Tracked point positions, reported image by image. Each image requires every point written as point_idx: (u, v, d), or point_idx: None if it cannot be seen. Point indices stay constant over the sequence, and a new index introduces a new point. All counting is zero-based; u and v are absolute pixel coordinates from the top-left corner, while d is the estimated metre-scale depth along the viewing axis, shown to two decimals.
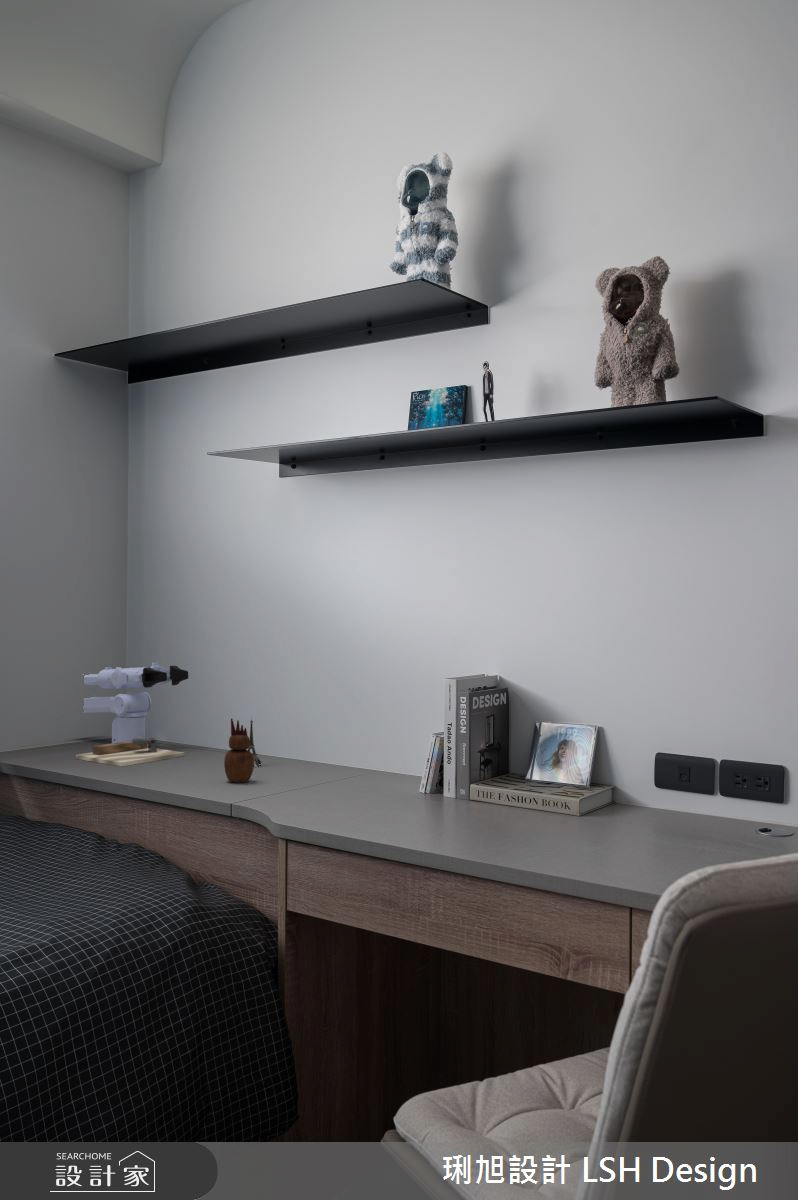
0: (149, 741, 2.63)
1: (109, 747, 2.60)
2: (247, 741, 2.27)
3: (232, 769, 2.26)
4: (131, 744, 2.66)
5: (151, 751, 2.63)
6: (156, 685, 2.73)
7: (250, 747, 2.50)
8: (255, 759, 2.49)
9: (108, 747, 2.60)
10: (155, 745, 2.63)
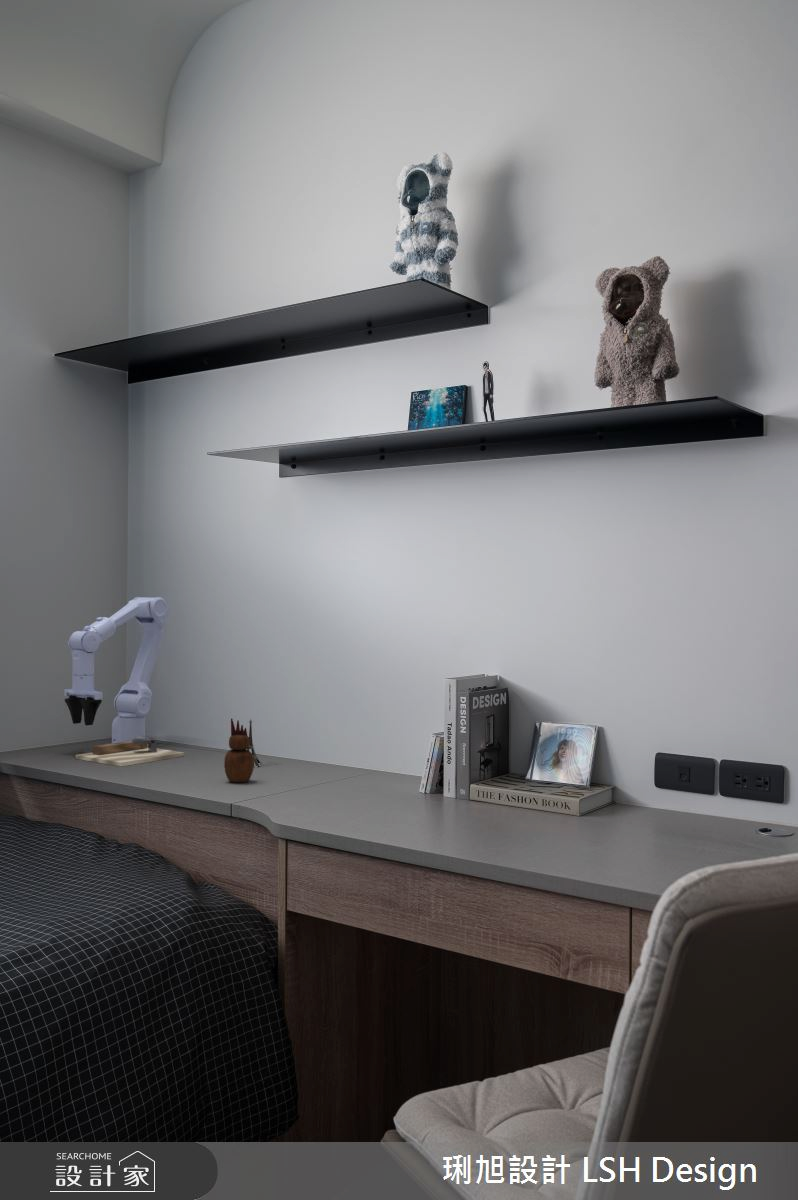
0: (149, 741, 2.63)
1: (109, 747, 2.60)
2: (247, 741, 2.27)
3: (232, 769, 2.26)
4: (131, 744, 2.66)
5: (151, 751, 2.63)
6: None
7: (249, 747, 2.50)
8: (254, 759, 2.49)
9: (108, 747, 2.60)
10: (155, 745, 2.63)
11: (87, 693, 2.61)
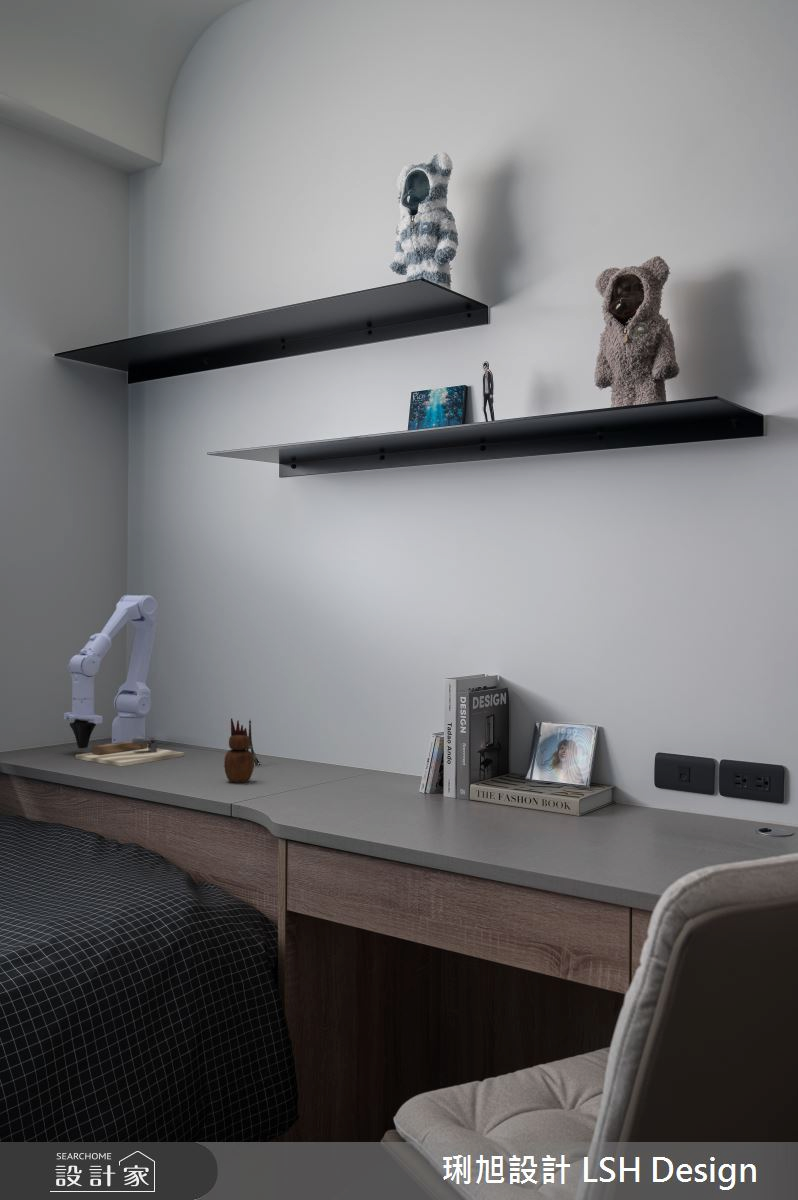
0: (149, 741, 2.63)
1: (109, 747, 2.60)
2: (247, 741, 2.27)
3: (232, 770, 2.26)
4: (131, 744, 2.66)
5: (151, 751, 2.63)
6: None
7: (249, 747, 2.50)
8: (254, 759, 2.49)
9: (108, 747, 2.60)
10: (155, 745, 2.63)
11: (87, 717, 2.61)
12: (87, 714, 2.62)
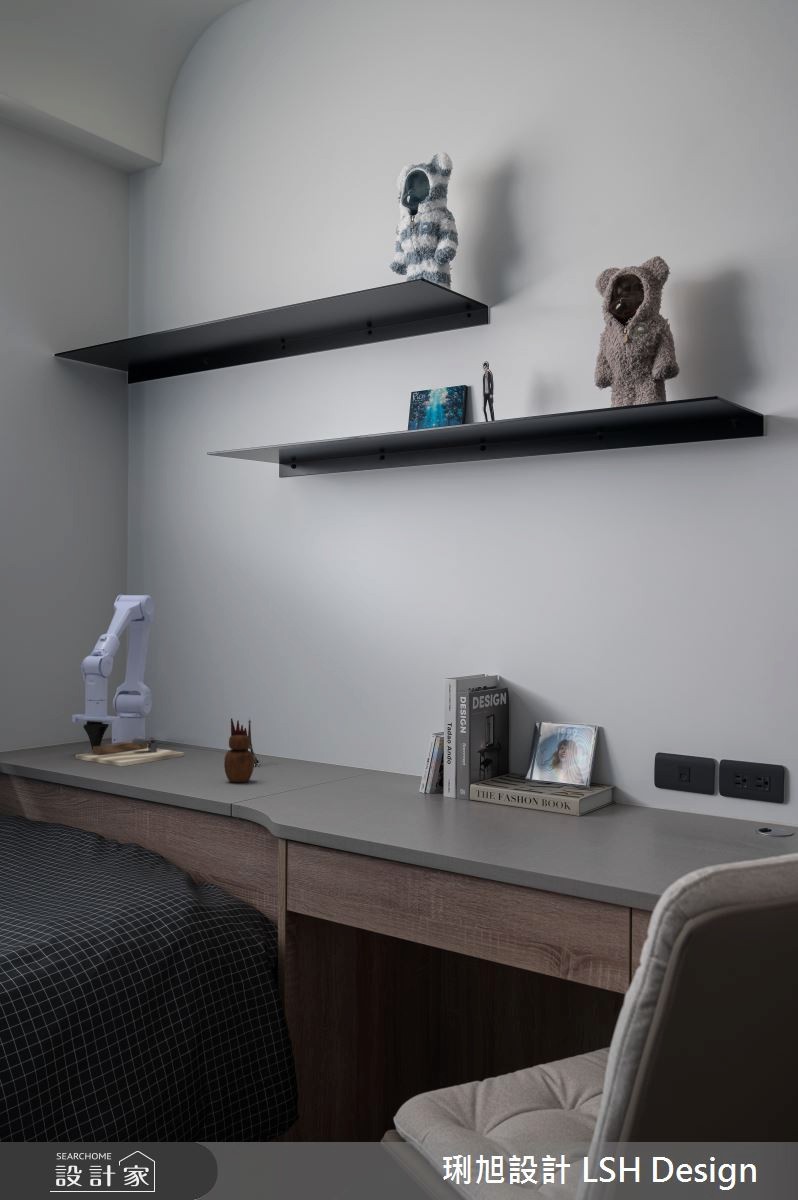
0: (149, 741, 2.63)
1: (109, 747, 2.60)
2: (247, 741, 2.27)
3: (232, 770, 2.26)
4: (131, 744, 2.66)
5: (151, 751, 2.63)
6: None
7: None
8: None
9: (108, 747, 2.60)
10: (155, 745, 2.63)
11: (104, 718, 2.58)
12: (103, 715, 2.60)
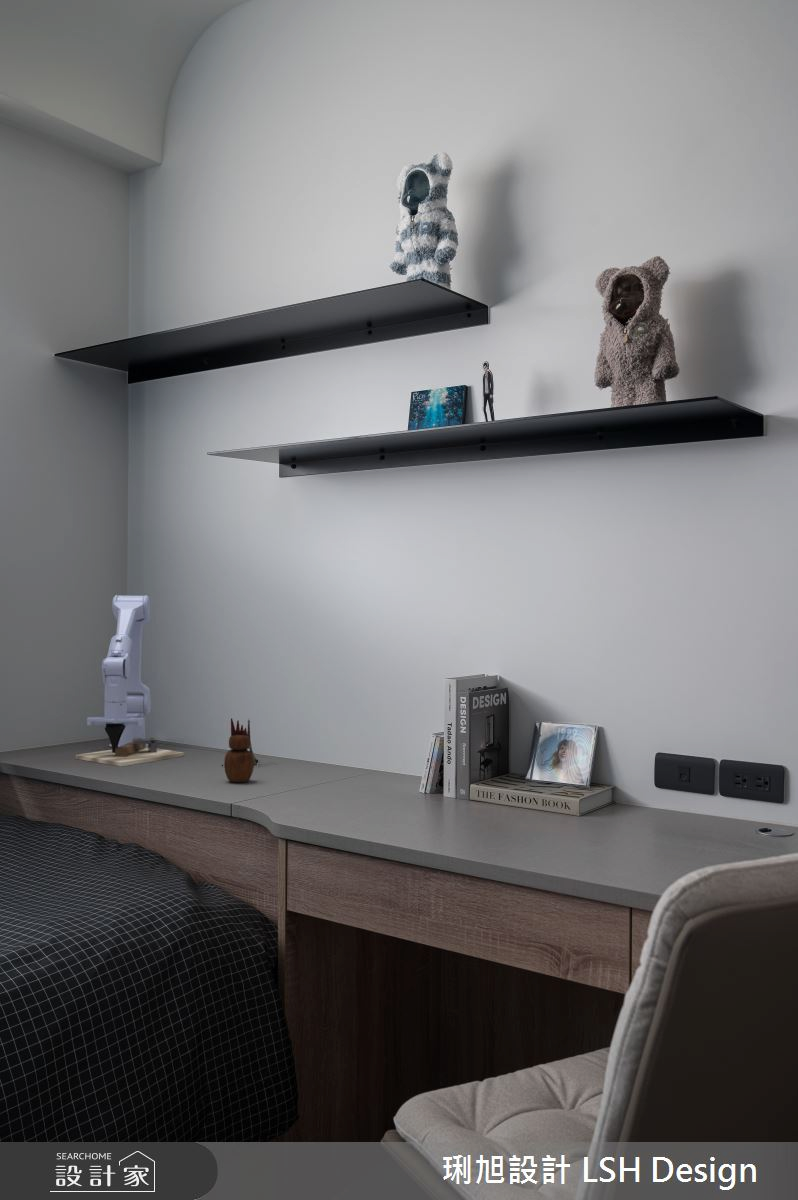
0: (149, 741, 2.63)
1: (130, 748, 2.59)
2: (247, 741, 2.27)
3: (232, 769, 2.26)
4: (139, 744, 2.66)
5: (151, 751, 2.63)
6: None
7: None
8: None
9: (129, 748, 2.59)
10: (155, 745, 2.63)
11: (129, 720, 2.56)
12: (125, 717, 2.57)
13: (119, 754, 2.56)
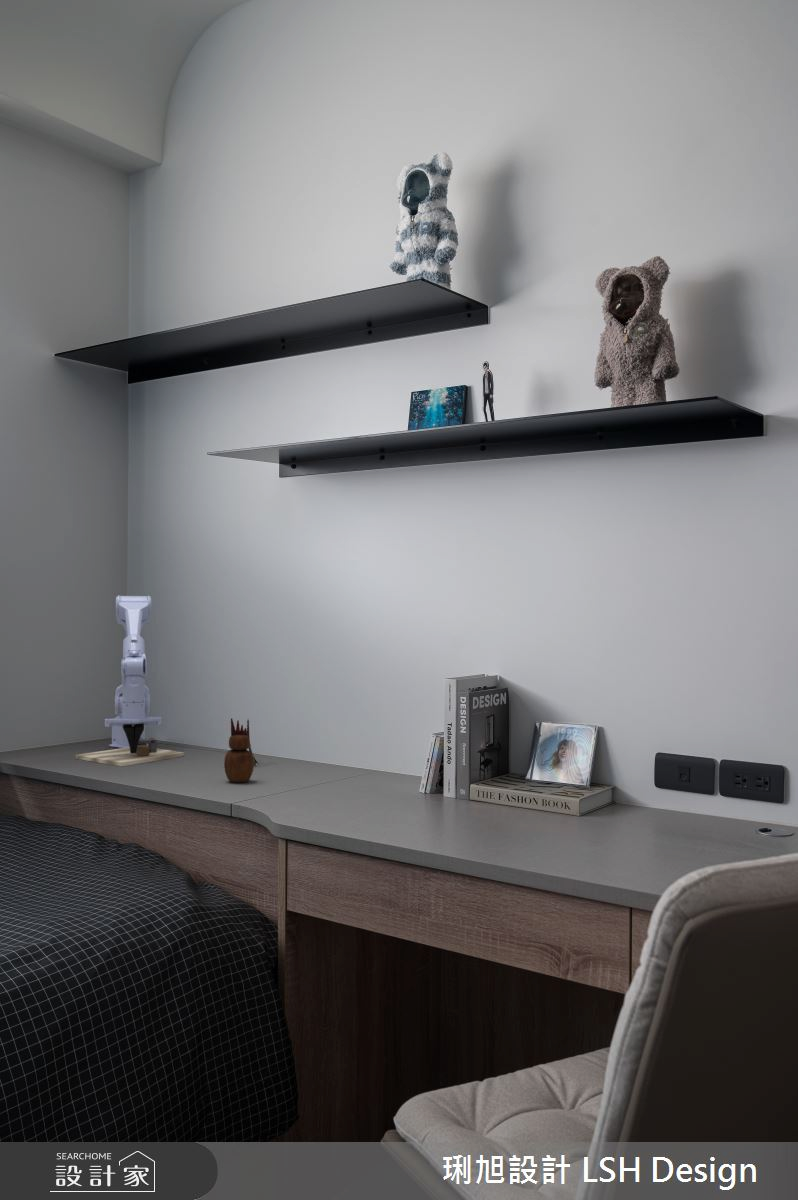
0: (149, 741, 2.63)
1: None
2: (247, 741, 2.27)
3: (232, 770, 2.26)
4: None
5: (151, 751, 2.63)
6: None
7: None
8: None
9: None
10: (155, 745, 2.63)
11: (150, 719, 2.57)
12: (144, 717, 2.58)
13: (142, 754, 2.57)
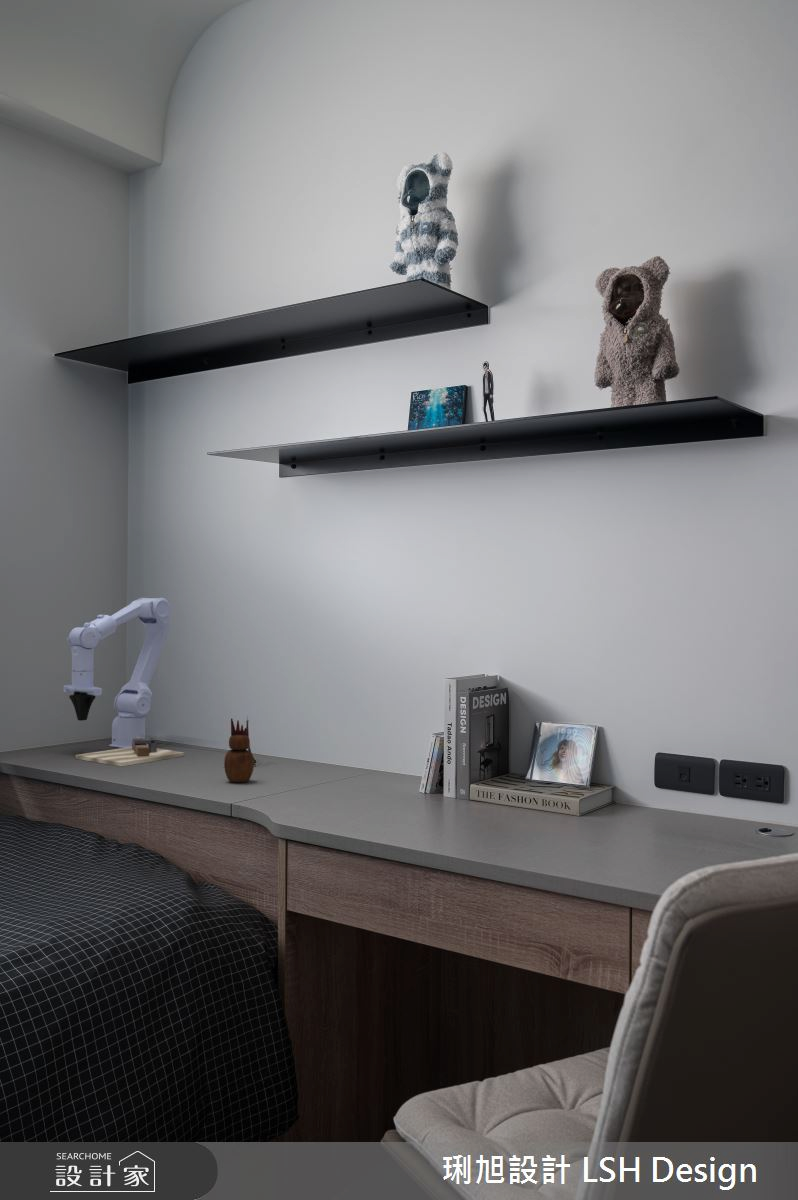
0: (149, 741, 2.63)
1: None
2: (247, 741, 2.27)
3: (232, 770, 2.26)
4: None
5: (151, 751, 2.63)
6: None
7: None
8: None
9: None
10: (155, 745, 2.63)
11: (86, 689, 2.62)
12: (87, 686, 2.63)
13: (142, 754, 2.57)
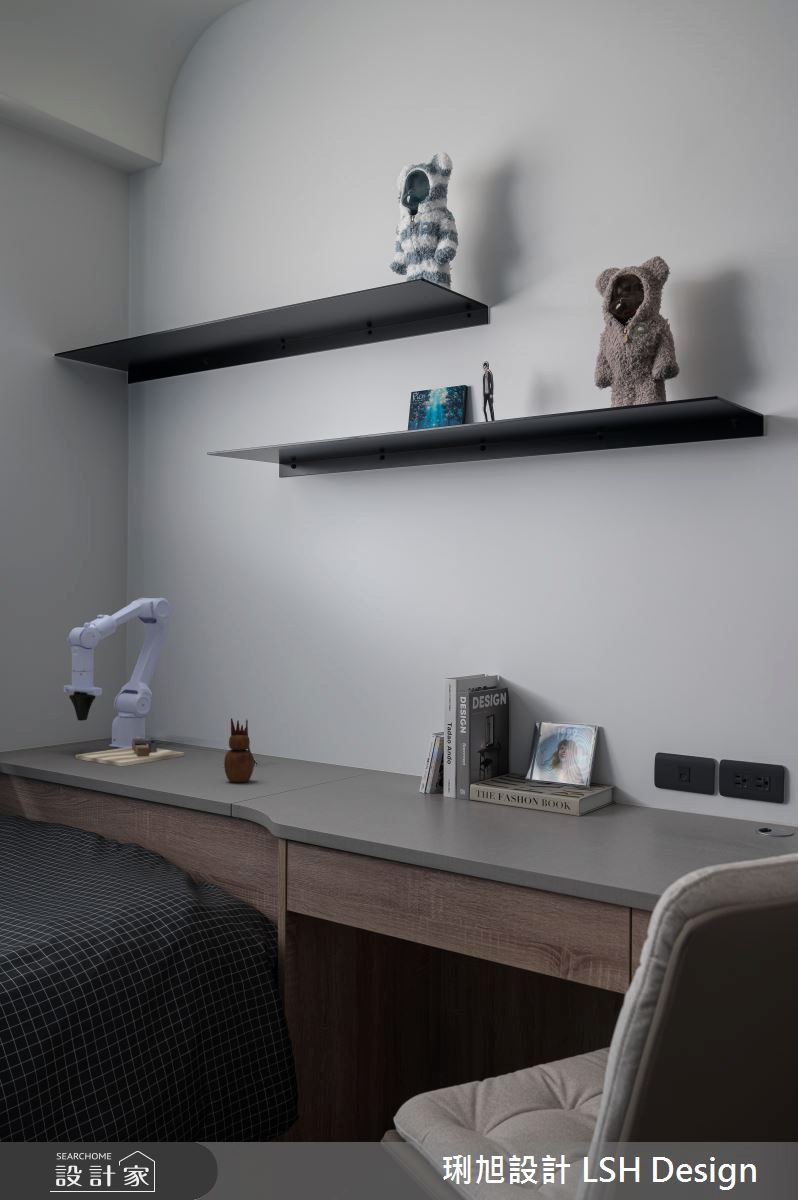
0: (149, 741, 2.63)
1: None
2: (247, 741, 2.27)
3: (232, 770, 2.26)
4: None
5: (151, 751, 2.63)
6: None
7: None
8: None
9: None
10: (155, 745, 2.63)
11: (86, 689, 2.62)
12: (86, 686, 2.63)
13: (142, 754, 2.57)
